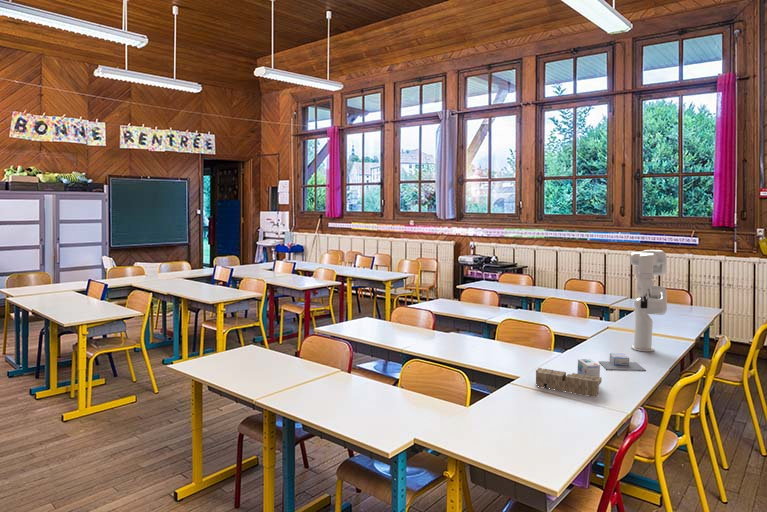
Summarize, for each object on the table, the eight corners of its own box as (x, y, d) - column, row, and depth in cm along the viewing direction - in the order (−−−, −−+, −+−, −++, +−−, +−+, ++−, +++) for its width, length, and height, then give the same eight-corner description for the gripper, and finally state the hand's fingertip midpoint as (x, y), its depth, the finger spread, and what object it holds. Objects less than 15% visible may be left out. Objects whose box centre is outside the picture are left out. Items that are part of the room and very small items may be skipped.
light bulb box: (576, 380, 267) (577, 359, 266) (589, 379, 268) (590, 358, 267) (586, 387, 257) (587, 365, 256) (599, 386, 257) (600, 365, 256)
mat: (598, 362, 298) (598, 361, 297) (636, 363, 296) (636, 362, 296) (606, 369, 284) (606, 368, 284) (645, 371, 282) (645, 369, 282)
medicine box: (624, 353, 297) (629, 357, 288) (623, 361, 297) (629, 365, 289) (609, 353, 298) (614, 357, 289) (609, 361, 298) (614, 365, 290)
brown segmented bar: (534, 388, 258) (598, 398, 242) (534, 371, 257) (598, 380, 242) (538, 384, 264) (601, 393, 249) (538, 367, 264) (601, 375, 248)
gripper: (633, 274, 309) (632, 305, 311) (643, 277, 294) (642, 310, 296) (647, 274, 308) (645, 305, 310) (657, 277, 294) (656, 310, 295)
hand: (643, 308), depth 303 cm, fingers closed
